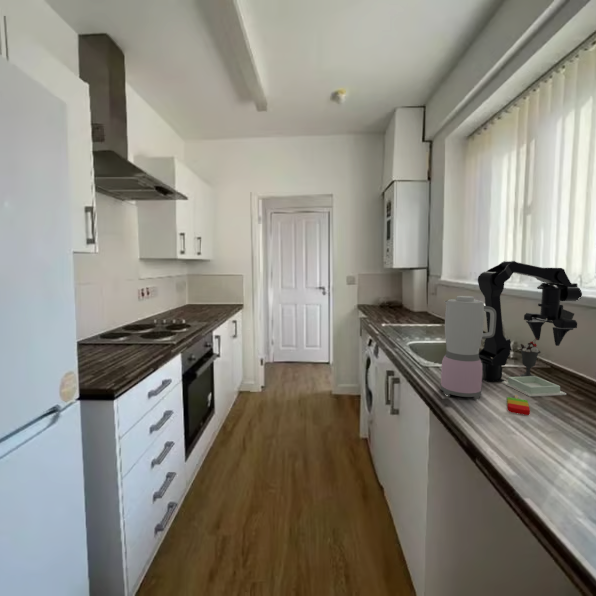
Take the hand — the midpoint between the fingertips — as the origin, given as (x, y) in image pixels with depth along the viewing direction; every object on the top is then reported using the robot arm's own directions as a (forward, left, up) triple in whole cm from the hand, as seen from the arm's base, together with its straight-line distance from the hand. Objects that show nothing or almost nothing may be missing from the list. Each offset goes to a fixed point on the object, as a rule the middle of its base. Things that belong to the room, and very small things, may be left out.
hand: (547, 342), depth 135 cm
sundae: (-7, 0, -13) cm, 15 cm away
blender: (-41, -14, -13) cm, 45 cm away
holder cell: (-15, -12, -13) cm, 23 cm away
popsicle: (-30, -24, -14) cm, 41 cm away
